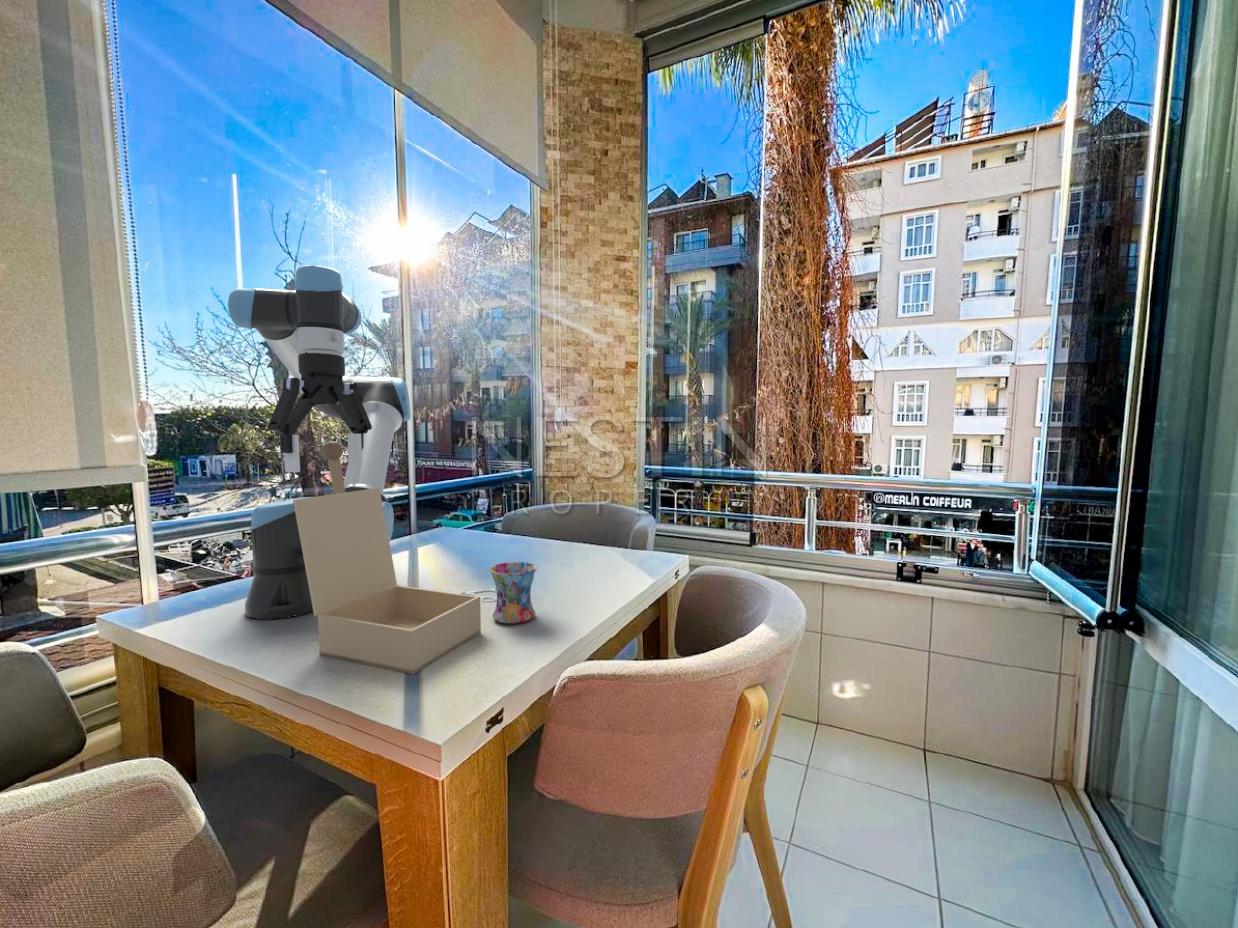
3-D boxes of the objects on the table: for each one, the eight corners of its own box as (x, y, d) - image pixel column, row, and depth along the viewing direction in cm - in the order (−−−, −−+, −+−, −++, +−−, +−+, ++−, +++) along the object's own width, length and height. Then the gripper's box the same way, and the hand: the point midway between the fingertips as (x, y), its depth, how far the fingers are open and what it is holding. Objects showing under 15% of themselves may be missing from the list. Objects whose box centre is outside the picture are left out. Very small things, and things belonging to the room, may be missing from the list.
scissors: (499, 601, 117) (415, 596, 120) (499, 605, 117) (415, 599, 120) (516, 587, 128) (438, 582, 131) (516, 590, 128) (438, 585, 131)
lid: (323, 614, 89) (307, 616, 91) (402, 584, 107) (389, 585, 108) (291, 441, 89) (276, 444, 91) (376, 438, 106) (362, 441, 108)
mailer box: (319, 654, 91) (317, 614, 90) (397, 618, 107) (396, 585, 107) (413, 674, 84) (411, 631, 83) (480, 632, 100) (480, 596, 100)
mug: (520, 630, 102) (520, 575, 101) (481, 623, 105) (480, 570, 105) (552, 610, 113) (551, 561, 112) (515, 604, 116) (514, 556, 116)
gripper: (270, 343, 85) (276, 475, 86) (388, 361, 108) (391, 464, 110) (238, 345, 88) (245, 473, 89) (360, 362, 111) (363, 463, 112)
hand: (326, 469), depth 99 cm, fingers open, 13 cm apart
